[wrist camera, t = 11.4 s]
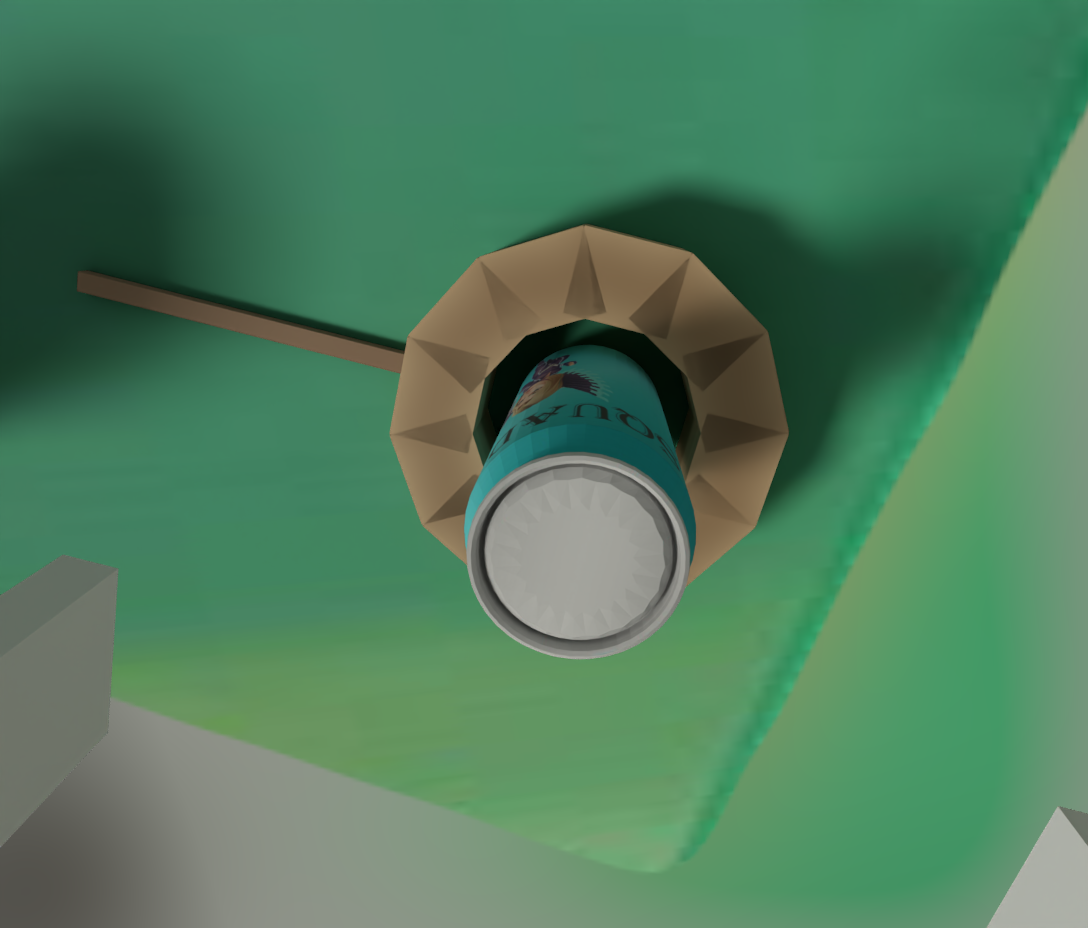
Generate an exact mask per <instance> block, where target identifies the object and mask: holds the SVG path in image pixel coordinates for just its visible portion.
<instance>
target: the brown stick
mask: <svg viewBox="0 0 1088 928" xmlns="http://www.w3.org/2000/svg"><path fill="white" fill-rule="evenodd" d="M77 291H78V292H82V293H86V294H90V295H94V296H98V297H102V298H106V299H110V300H114V301H118V302H122V303H126V304H130V305H133V306H137V307H141V308H145V309H149V310H153V311H157V312H161V313H165V314H169V315H173V316H177V317H181V318H185V319H188V320H192V321H196V322H200V323H204V324H208V325H212V326H216V327H220V328H224V329H228V330H232V331H236V332H239V333H243V334H247V335H251V336H255V337H259V338H263V339H267V340H271V341H275V342H279V343H283V344H287V345H291V346H294V347H298V348H302V349H306V350H310V351H314V352H318V353H322V354H326V355H330V356H334V357H338V358H342V359H345V360H349V361H353V362H357V363H361V364H365V365H369V366H373V367H377V368H381V369H385V370H389V371H393V372H397V373H400V374H401V369H402V364H403V359H404V353H405V351H402V350H398V349H394V348H390V347H386V346H382V345H378V344H374V343H370V342H366V341H363V340H359V339H355V338H351V337H347V336H343V335H339V334H335V333H331V332H327V331H323V330H319V329H315V328H312V327H308V326H304V325H300V324H296V323H292V322H288V321H284V320H280V319H276V318H272V317H268V316H264V315H261V314H257V313H253V312H249V311H245V310H241V309H237V308H233V307H229V306H225V305H221V304H217V303H213V302H210V301H206V300H202V299H198V298H194V297H190V296H186V295H182V294H178V293H174V292H170V291H166V290H162V289H159V288H155V287H151V286H147V285H143V284H139V283H135V282H131V281H127V280H123V279H119V278H115V277H111V276H108V275H104V274H100V273H96V272H92V271H88V270H86V271H78V280H77Z"/></svg>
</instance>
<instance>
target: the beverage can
mask: <svg viewBox="0 0 1088 928" xmlns="http://www.w3.org/2000/svg"><path fill="white" fill-rule="evenodd" d="M464 535H465V546H466V554H467V567H468V572H469V576H470V580H471V584H472V587H473V589H474V592H475V594H476V596H477V599H478V601H479V602H480V604H481V606H482V607H483V609H484V610H485V612H486V613H487V615H488V616H489V617H490V618H491V619H492V620H493V622H494V623H495V624H496V625H497V626H498V627H499V628H500V629H502V630H503V631H504V632H505V633H506V634H507V635H509V636H510V637H511V638H513V639H515V640H516V641H518V642H519V643H521V644H523V645H524V646H527V647H529V648H531V649H533V650H536V651H538V652H541V653H544V654H548V655H551V656H555V657H562V658H569V659H592V658H599V657H606V656H609V655H613V654H616V653H620V652H623V651H625V650H627V649H629V648H632V647H634V646H636V645H638V644H639V643H641V642H642V641H644V640H646V639H647V638H649V637H650V636H651V635H652V634H654V633H655V632H656V631H657V630H658V629H659V628H660V627H662V625H663V624H664V623H665V622H666V621H667V620H668V618H669V617H670V616H671V615H672V613H673V612H674V610H675V608H676V607H677V605H678V603H679V602H680V600H681V597H682V595H683V592H684V589H685V587H686V584H687V580H688V575H689V570H690V566H691V563H692V561H693V556H694V551H695V546H696V522H695V515H694V509H693V506H692V503H691V499H690V496H689V493H688V490H687V486H686V483H685V480H684V477H683V474H682V470H681V467H680V464H679V461H678V457H677V454H676V451H675V448H674V445H673V441H672V438H671V435H670V432H669V428H668V425H667V422H666V419H665V415H664V412H663V409H662V406H661V403H660V399H659V396H658V393H657V390H656V388H655V386H654V384H653V382H652V380H651V379H650V377H649V376H648V375H647V373H646V372H645V371H644V369H642V368H641V367H640V366H639V365H638V364H637V363H636V362H635V361H634V360H632V359H631V358H629V357H628V356H627V355H625V354H623V353H621V352H619V351H616V350H614V349H611V348H607V347H604V346H597V345H578V346H573V347H568V348H565V349H562V350H559V351H557V352H555V353H553V354H551V355H549V356H548V357H546V358H545V359H544V360H542V361H541V362H540V363H538V364H537V365H536V366H535V367H534V368H533V369H532V371H531V372H530V373H529V374H528V376H527V377H526V379H525V380H524V382H523V383H522V386H521V388H520V390H519V392H518V394H517V396H516V398H515V401H514V403H513V405H512V407H511V409H510V411H509V413H508V415H507V418H506V420H505V422H504V424H503V426H502V428H501V430H500V433H499V435H498V437H497V439H496V441H495V443H494V445H493V447H492V450H491V452H490V454H489V456H488V458H487V460H486V462H485V464H484V467H483V469H482V471H481V473H480V475H479V477H478V479H477V482H476V484H475V486H474V488H473V490H472V492H471V495H470V497H469V501H468V505H467V508H466V513H465V523H464Z"/></svg>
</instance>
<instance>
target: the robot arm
mask: <svg viewBox="0 0 1088 928" xmlns="http://www.w3.org/2000/svg"><path fill="white" fill-rule="evenodd" d="M117 581H118V568H114V567H110V566H106V565H102V564H98V563H94V562H90V561H86V560H82V559H78V558H74V557H70V556H66V555H62V556H60V557H59V558H57V559H56V560H54V561H53V562H51V563H49V564H48V565H46V566H45V567H43V568H42V569H40V570H39V571H37V572H36V573H34V574H33V575H31V576H30V577H28V578H26V579H25V580H23V581H22V582H20V583H19V584H17V585H16V586H14V587H13V588H11V589H10V590H8V591H6V592H5V593H3V594H2V595H0V847H1V846H2V845H3V844H4V843H5V842H6V841H7V840H8V839H9V837H10V836H11V835H12V834H13V833H14V832H15V831H16V830H17V829H18V828H19V827H20V826H21V825H22V824H23V823H24V822H25V820H26V819H27V818H28V817H29V816H30V815H31V814H32V813H33V812H34V811H35V810H36V809H37V808H38V806H40V804H41V803H42V802H43V801H44V800H45V799H46V798H47V797H48V796H49V795H50V794H51V793H52V792H53V791H54V789H55V788H56V787H57V786H58V785H59V784H60V783H61V782H62V781H63V780H64V779H65V778H66V777H67V776H68V775H69V774H70V772H71V771H72V770H73V769H74V768H75V767H76V766H77V765H78V764H79V763H80V762H81V761H82V759H84V757H85V756H86V755H87V754H88V753H89V752H90V751H91V750H92V749H93V748H94V747H95V746H96V745H97V744H98V743H99V742H100V740H101V739H102V738H103V737H104V736H105V735H106V734H107V733H108V723H109V707H110V692H111V676H112V660H113V644H114V629H115V613H116V597H117ZM987 928H1088V814H1087V813H1083V812H1079V811H1075V810H1071V809H1067V808H1063V807H1059V806H1058V807H1057V809H1056V811H1055V812H1054V814H1053V816H1052V817H1051V819H1050V821H1049V822H1048V824H1047V826H1046V828H1045V829H1044V831H1043V832H1042V834H1041V836H1040V838H1039V839H1038V841H1037V843H1036V845H1035V846H1034V848H1033V850H1032V852H1031V853H1030V855H1029V856H1028V858H1027V860H1026V862H1025V863H1024V865H1023V867H1022V868H1021V870H1020V872H1019V874H1018V875H1017V877H1016V879H1015V880H1014V882H1013V884H1012V885H1011V887H1010V889H1009V890H1008V892H1007V894H1006V896H1005V898H1004V899H1003V901H1002V902H1001V904H1000V906H999V908H998V909H997V911H996V913H995V914H994V916H993V918H992V919H991V921H990V923H989V925H988V926H987Z"/></svg>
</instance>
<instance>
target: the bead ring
mask: <svg viewBox="0 0 1088 928" xmlns="http://www.w3.org/2000/svg"><path fill="white" fill-rule="evenodd" d="M582 319H588V320H592V321H596V322H600V323H604V324H608V325H612V326H615V327H619V328H623V329H627V330H631V331H635V332H639V333H643V334H645V335H646V336H647V337H648V338H649V339H650V340H651V341H652V342H653V343H654V344H655V345H656V346H657V347H658V348H659V349H660V350H661V351H662V352H663V353H664V354H665V355H666V356H667V357H668V358H669V359H670V360H671V361H672V362H673V363H674V364H675V365H676V366H677V367H678V368H679V369H680V372H681V376H682V380H683V384H684V388H685V392H686V396H687V401H688V405H689V409H688V412H687V415H686V419H685V422H684V425H683V428H682V431H681V435H680V438H679V441H678V444H677V447H676V454H677V457H678V461H679V464H680V467H681V470H682V474H683V477H684V480H685V483H686V486H687V490H688V493H689V496H690V499H691V503H692V506H693V509H694V515H695V522H696V546H695V551H694V556H693V561H692V563H691V566H690V570H689V575H688V580H687V584H686V586H687V585H688V584H690V583H691V582H692V581H693V580H694V579H695V578H697V577H698V576H699V575H700V574H701V573H702V572H704V571H705V570H706V569H707V568H708V567H709V566H711V565H712V564H713V563H714V562H715V561H716V560H718V559H719V558H720V557H721V556H722V555H724V554H725V553H726V552H727V551H728V550H729V549H731V548H732V547H733V546H734V545H735V544H736V543H738V542H739V541H740V540H741V539H742V538H743V537H745V536H746V535H747V534H748V533H749V532H750V531H752V530H753V529H754V528H755V527H756V524H757V521H758V518H759V516H760V513H761V510H762V507H763V505H764V502H765V499H766V496H767V493H768V491H769V488H770V485H771V482H772V480H773V477H774V474H775V471H776V468H777V466H778V463H779V460H780V457H781V454H782V452H783V449H784V446H785V443H786V441H787V438H788V435H789V430H788V425H787V420H786V415H785V411H784V406H783V401H782V396H781V391H780V387H779V382H778V377H777V372H776V367H775V363H774V358H773V353H772V348H771V343H770V339H769V334H768V332H767V330H766V329H765V328H764V327H763V326H762V325H761V324H760V322H759V321H758V320H757V319H756V318H755V317H754V316H753V315H752V314H751V313H750V312H749V311H748V310H747V309H746V308H745V307H744V306H743V305H742V304H741V303H740V302H739V301H738V300H737V299H736V298H735V296H734V295H733V294H732V293H731V292H730V291H729V290H728V289H727V288H726V287H725V286H724V285H723V284H722V283H721V282H720V281H719V280H718V279H717V278H716V277H715V276H714V275H713V274H712V273H711V272H710V271H709V269H708V268H707V267H706V266H705V265H704V264H703V263H702V262H701V261H700V260H699V259H698V258H697V257H696V256H695V255H694V254H693V253H691V252H689V251H687V250H685V249H682V248H680V247H676V246H672V245H668V244H664V243H660V242H656V241H652V240H648V239H645V238H641V237H637V236H633V235H629V234H625V233H621V232H617V231H613V230H609V229H606V228H602V227H598V226H594V225H590V224H583V225H580V226H577V227H573V228H570V229H567V230H564V231H560V232H557V233H554V234H550V235H547V236H544V237H541V238H537V239H534V240H531V241H527V242H524V243H521V244H517V245H514V246H511V247H508V248H504V249H501V250H498V251H494V252H492V253H489V254H486V255H483V256H480V257H478V258H477V259H476V260H475V261H474V262H473V263H472V265H471V266H470V267H469V268H468V269H467V270H466V271H465V272H464V274H463V275H462V276H461V277H460V278H459V279H458V280H457V281H456V282H455V284H454V285H453V286H452V287H451V288H450V289H449V290H448V291H447V293H446V294H445V295H444V296H443V297H442V298H441V299H440V300H439V301H438V303H437V304H436V305H435V306H434V307H433V308H432V309H431V310H430V312H429V313H428V314H427V315H426V316H425V317H424V318H423V319H422V320H421V322H420V323H419V324H418V325H417V326H416V327H415V328H414V329H413V331H412V332H411V333H410V334H409V335H408V337H407V343H406V348H405V353H404V359H403V364H402V369H401V375H400V380H399V386H398V391H397V396H396V402H395V407H394V412H393V418H392V423H391V428H390V437H391V440H392V443H393V446H394V448H395V451H396V454H397V457H398V460H399V462H400V465H401V468H402V471H403V473H404V476H405V479H406V482H407V485H408V487H409V490H410V493H411V496H412V498H413V501H414V504H415V507H416V509H417V512H418V515H419V518H420V521H421V523H422V525H423V526H424V527H425V528H426V529H427V530H428V531H429V532H430V533H431V534H433V535H434V536H435V537H436V538H437V539H438V540H439V541H440V542H442V543H443V544H444V545H445V546H446V547H447V548H448V549H450V550H451V551H452V552H453V553H454V554H455V555H456V556H457V557H459V558H460V559H461V560H462V561H463V562H464V563H465V564H467V554H466V546H465V535H464V523H465V513H466V508H467V505H468V501H469V497H470V495H471V492H472V490H473V488H474V486H475V484H476V482H477V479H478V477H479V475H480V473H481V471H482V469H483V467H484V464H485V462H486V460H487V458H488V456H489V454H490V452H491V450H492V447H493V445H494V443H495V441H496V439H497V435H496V432H495V429H494V426H493V423H492V420H491V417H490V414H489V410H488V405H489V401H490V396H491V392H492V387H493V383H494V378H495V374H496V370H497V365H498V364H499V363H500V362H501V361H502V360H503V359H504V358H505V357H506V356H507V355H508V354H509V352H510V351H511V350H512V349H513V348H514V347H515V346H516V345H517V344H518V343H519V342H520V341H521V340H522V339H523V338H524V337H525V336H526V335H529V334H532V333H536V332H539V331H543V330H546V329H550V328H554V327H557V326H561V325H564V324H568V323H571V322H575V321H578V320H582ZM754 526H755V527H754Z"/></svg>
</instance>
